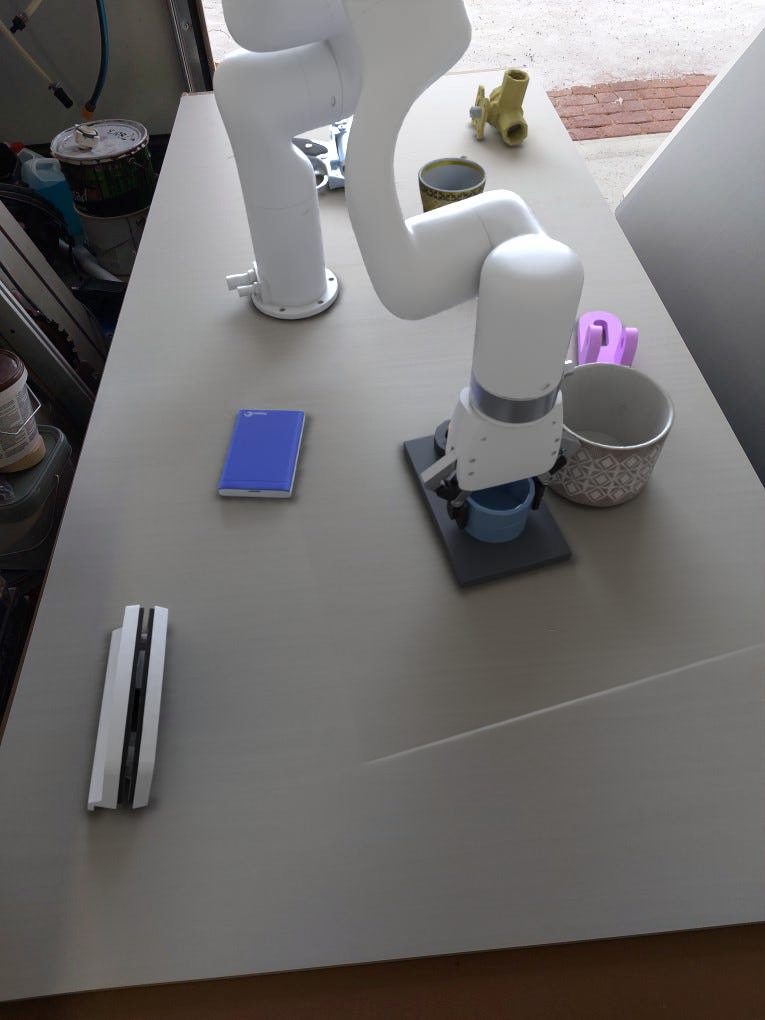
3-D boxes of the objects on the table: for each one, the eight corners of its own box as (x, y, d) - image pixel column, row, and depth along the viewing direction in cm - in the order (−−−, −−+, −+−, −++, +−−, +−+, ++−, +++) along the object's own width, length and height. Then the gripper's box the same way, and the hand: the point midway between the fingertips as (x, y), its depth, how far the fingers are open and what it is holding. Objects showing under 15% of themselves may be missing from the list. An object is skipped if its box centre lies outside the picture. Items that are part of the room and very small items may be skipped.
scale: (461, 589, 70) (463, 573, 68) (402, 447, 82) (402, 430, 80) (570, 559, 72) (575, 543, 69) (496, 425, 84) (499, 407, 81)
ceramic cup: (472, 259, 105) (477, 195, 97) (409, 248, 107) (409, 185, 99) (491, 214, 112) (498, 152, 104) (432, 205, 114) (434, 144, 106)
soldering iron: (277, 149, 129) (361, 134, 128) (282, 244, 114) (378, 227, 113) (269, 118, 124) (356, 102, 123) (274, 213, 109) (373, 195, 108)
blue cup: (472, 550, 71) (476, 522, 67) (448, 496, 76) (451, 467, 72) (539, 533, 72) (546, 504, 68) (511, 481, 77) (517, 451, 73)
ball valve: (509, 118, 134) (460, 115, 132) (525, 60, 125) (472, 56, 124) (525, 153, 127) (473, 150, 125) (542, 94, 119) (486, 91, 117)
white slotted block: (112, 635, 68) (115, 582, 61) (162, 637, 69) (171, 586, 62) (87, 814, 58) (86, 777, 50) (146, 813, 59) (153, 776, 52)
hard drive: (238, 408, 85) (217, 487, 77) (304, 410, 84) (289, 489, 77) (240, 417, 86) (220, 496, 78) (305, 419, 85) (291, 498, 78)
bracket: (624, 385, 87) (639, 341, 82) (579, 382, 88) (591, 338, 82) (618, 320, 95) (631, 276, 89) (576, 318, 96) (587, 274, 90)
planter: (664, 503, 76) (696, 439, 68) (553, 520, 75) (572, 457, 67) (622, 422, 83) (645, 355, 75) (520, 436, 82) (533, 370, 74)
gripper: (587, 337, 63) (554, 465, 77) (404, 377, 60) (405, 502, 74) (627, 392, 58) (584, 516, 72) (431, 438, 56) (427, 558, 70)
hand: (493, 508), depth 73 cm, fingers closed on blue cup, 7 cm apart
